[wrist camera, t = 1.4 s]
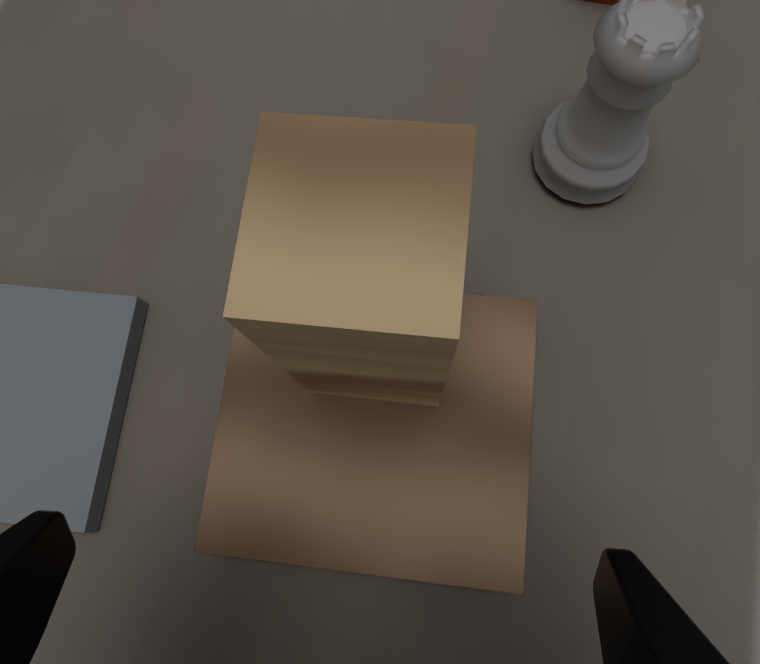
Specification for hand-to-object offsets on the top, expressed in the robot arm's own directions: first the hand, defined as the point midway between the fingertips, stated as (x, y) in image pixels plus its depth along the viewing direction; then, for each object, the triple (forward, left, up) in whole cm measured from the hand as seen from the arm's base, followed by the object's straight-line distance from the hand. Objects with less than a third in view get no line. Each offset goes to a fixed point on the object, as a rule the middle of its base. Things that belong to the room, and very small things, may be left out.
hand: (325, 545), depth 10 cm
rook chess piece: (+15, -7, -13) cm, 21 cm away
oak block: (+6, 0, -10) cm, 12 cm away
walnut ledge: (+3, 0, -12) cm, 13 cm away
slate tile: (+3, +15, -12) cm, 19 cm away
